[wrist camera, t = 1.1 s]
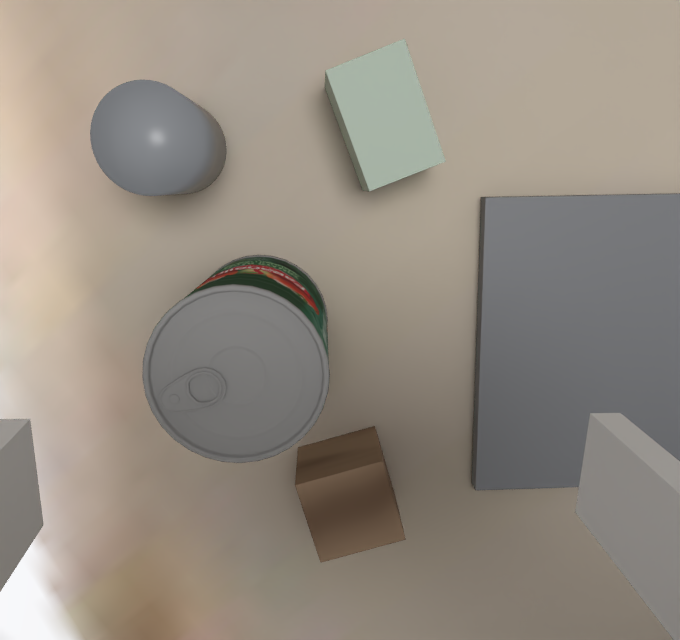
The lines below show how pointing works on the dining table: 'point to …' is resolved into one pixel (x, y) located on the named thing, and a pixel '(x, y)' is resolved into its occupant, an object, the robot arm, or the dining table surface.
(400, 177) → the sage box
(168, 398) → the canned tomato
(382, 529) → the walnut block
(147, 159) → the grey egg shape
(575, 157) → the dining table surface
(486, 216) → the slate grey board
